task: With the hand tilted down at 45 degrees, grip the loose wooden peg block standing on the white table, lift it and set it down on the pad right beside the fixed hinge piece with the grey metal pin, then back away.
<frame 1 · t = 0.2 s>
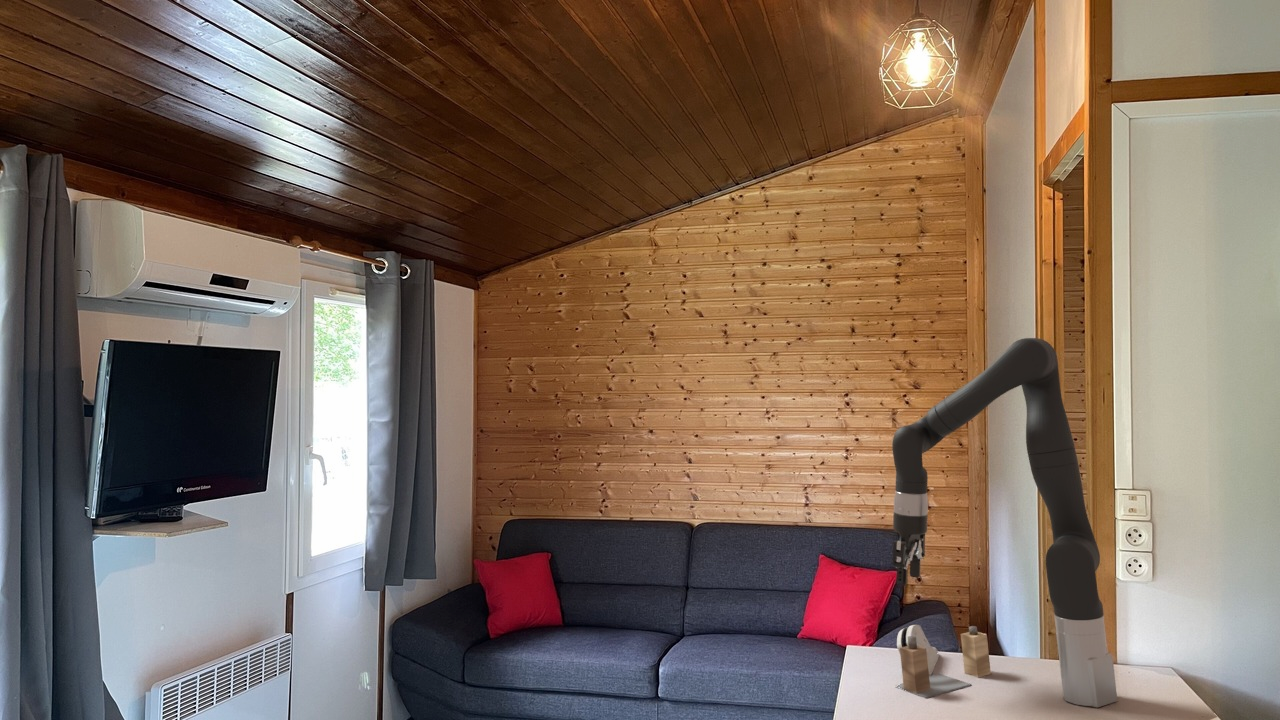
hand: (908, 580, 209), 22 cm above the table, tool pointing down, fingers open, 8 cm apart
mount: (931, 686, 202), on the table
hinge: (918, 665, 219), on the table
wooden peg block: (977, 673, 208), on the table
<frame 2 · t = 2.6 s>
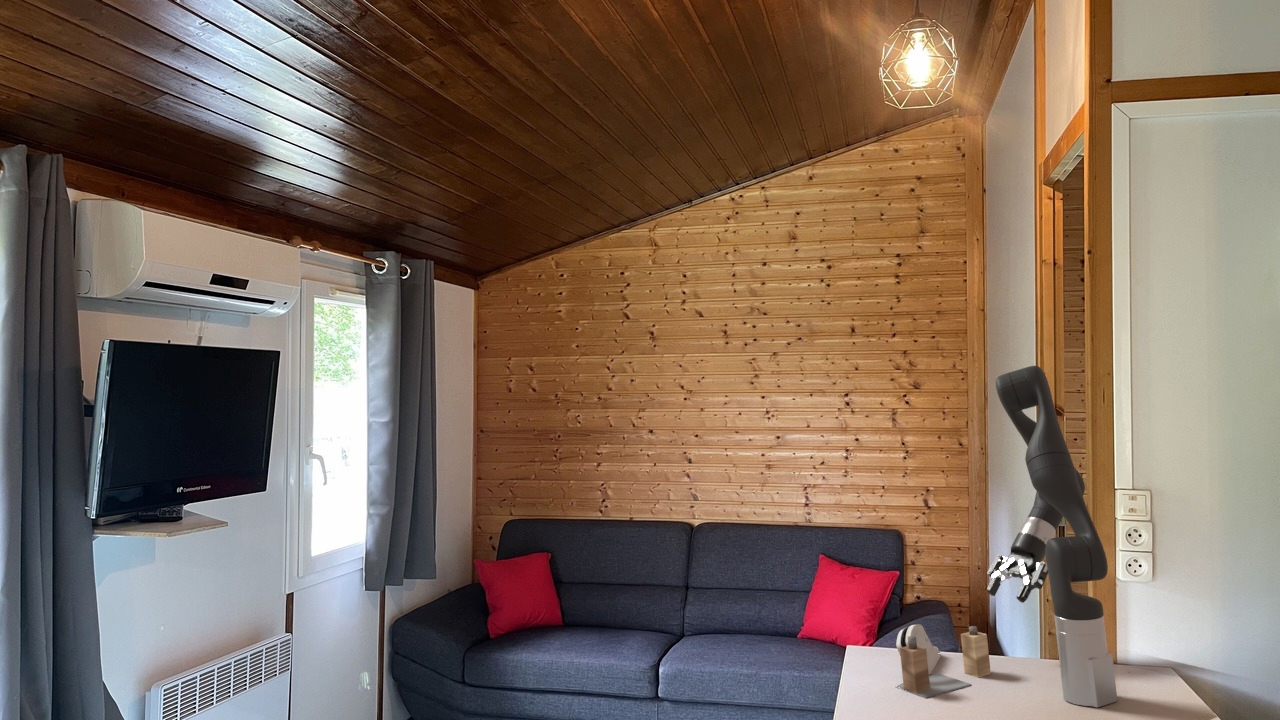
hand: (1004, 597, 214), 15 cm above the table, tool tilted 45°, fingers open, 8 cm apart
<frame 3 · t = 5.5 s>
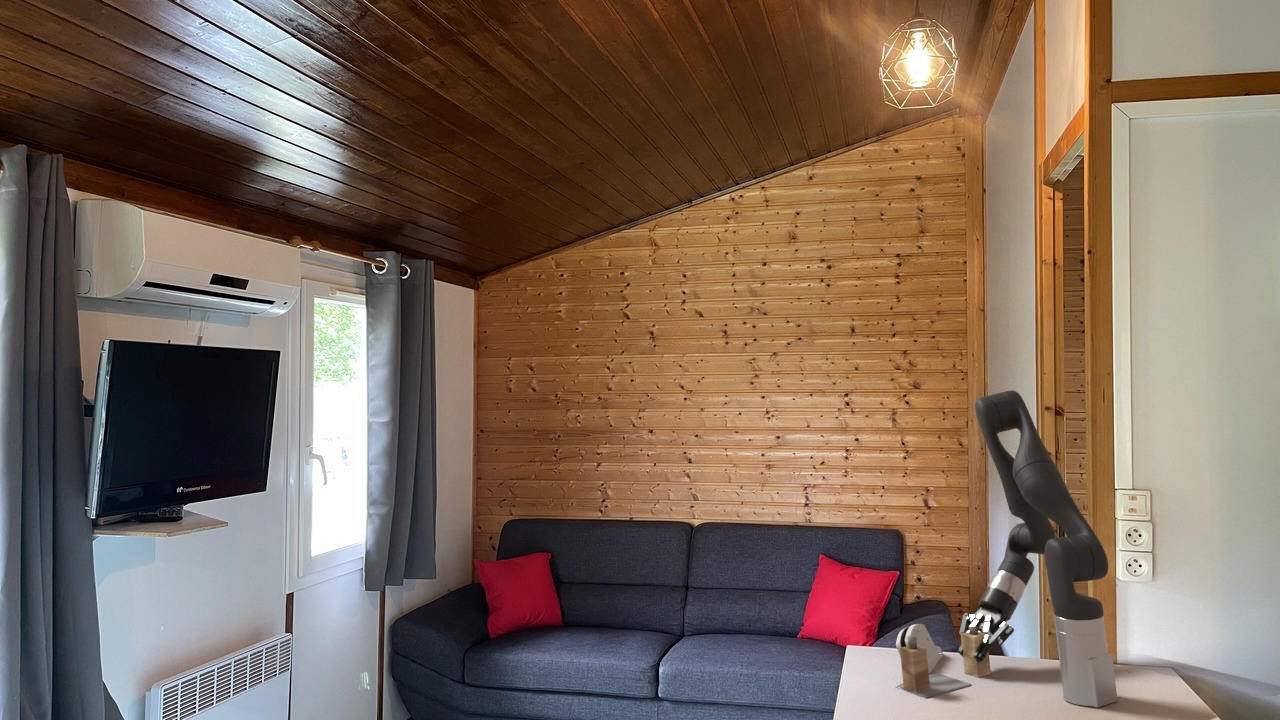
hand: (969, 657, 207), 4 cm above the table, tool tilted 45°, fingers closed on wooden peg block, 4 cm apart
wooden peg block: (977, 673, 208), on the table, touching gripper
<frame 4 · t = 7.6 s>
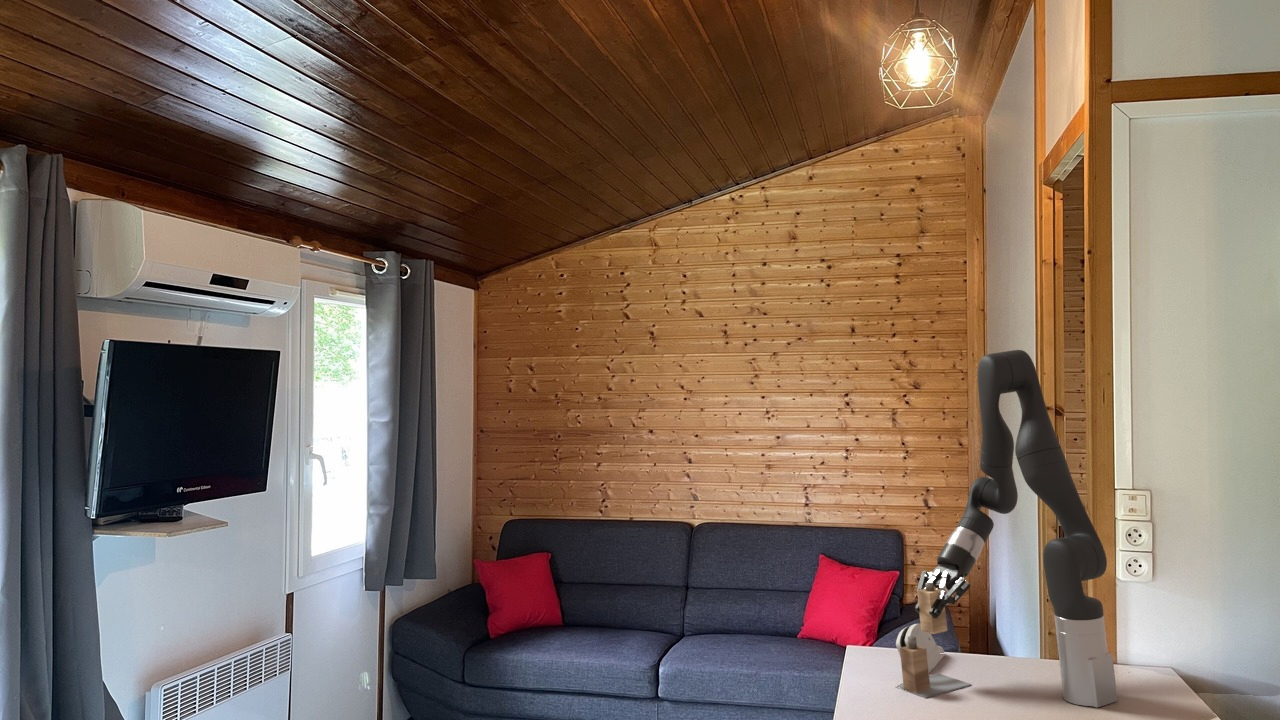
hand: (925, 613, 203), 16 cm above the table, tool tilted 45°, fingers closed on wooden peg block, 4 cm apart
wooden peg block: (934, 630, 204), point 12 cm above the table, touching gripper
when the fingers open (6 cm above the table, at t = 9.9 s): wooden peg block drops 2 cm, resting on mount.
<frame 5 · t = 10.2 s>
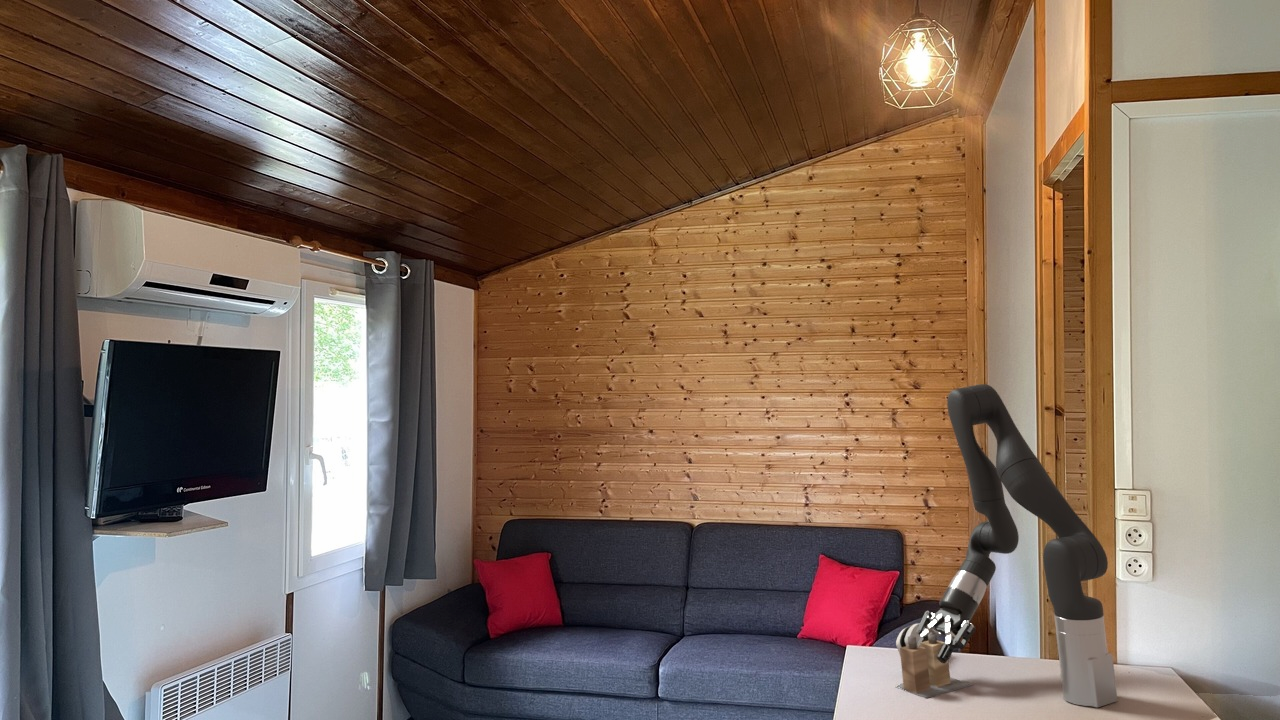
hand: (929, 657, 203), 6 cm above the table, tool tilted 45°, fingers open, 6 cm apart
wooden peg block: (937, 683, 203), resting on mount
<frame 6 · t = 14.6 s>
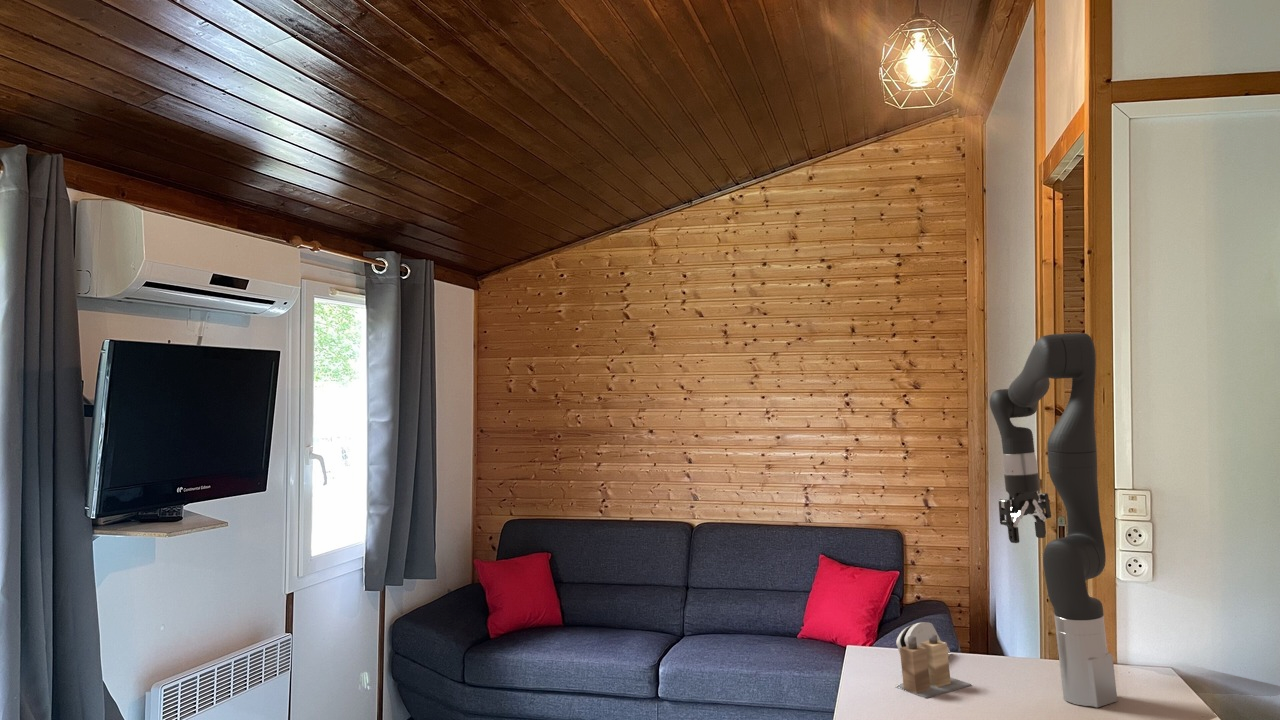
hand: (1028, 540, 215), 28 cm above the table, tool pointing down, fingers open, 8 cm apart
at the end: wooden peg block inside the target area (0.1 cm from its centre), resting on mount; wooden peg block tilted 0°; the gripper is holding nothing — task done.
